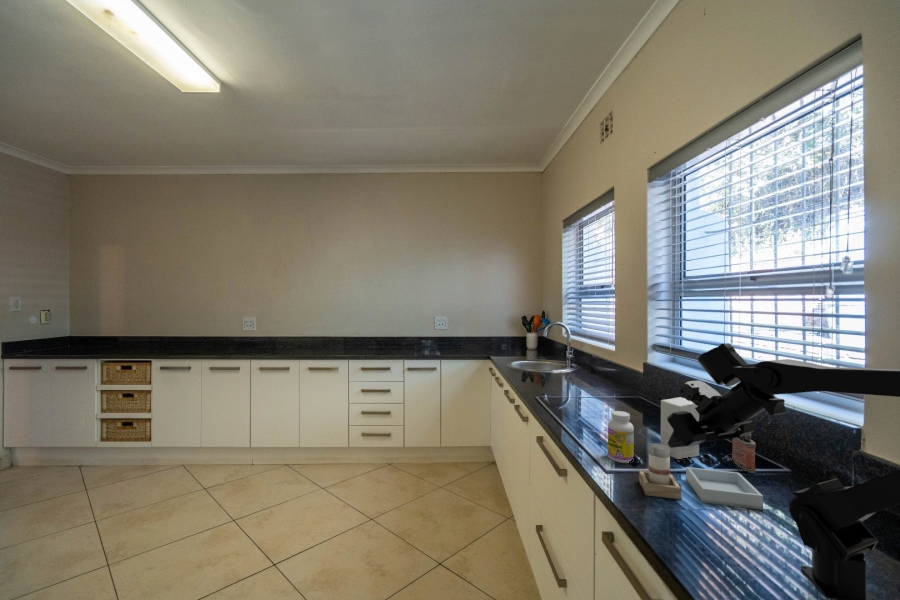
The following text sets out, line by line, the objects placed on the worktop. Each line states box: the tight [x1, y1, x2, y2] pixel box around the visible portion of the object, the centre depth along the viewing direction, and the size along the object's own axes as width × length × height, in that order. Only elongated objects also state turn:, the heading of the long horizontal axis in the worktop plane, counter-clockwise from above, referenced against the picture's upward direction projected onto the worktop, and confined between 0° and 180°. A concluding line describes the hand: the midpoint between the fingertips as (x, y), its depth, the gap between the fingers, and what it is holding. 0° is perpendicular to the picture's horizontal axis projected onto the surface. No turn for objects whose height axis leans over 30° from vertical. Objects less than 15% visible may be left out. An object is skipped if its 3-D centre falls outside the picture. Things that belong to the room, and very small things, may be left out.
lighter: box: [731, 428, 757, 474], centre depth 102 cm, size 8×3×10 cm, turn 168°
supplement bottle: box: [607, 410, 635, 464], centre depth 106 cm, size 7×7×13 cm
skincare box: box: [660, 396, 700, 460], centre depth 109 cm, size 8×7×16 cm
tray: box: [685, 466, 764, 511], centre depth 87 cm, size 11×11×3 cm
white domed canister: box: [648, 443, 671, 485], centre depth 89 cm, size 4×4×10 cm
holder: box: [638, 469, 682, 500], centre depth 89 cm, size 7×7×2 cm
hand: (684, 442), depth 83 cm, fingers open, 9 cm apart
